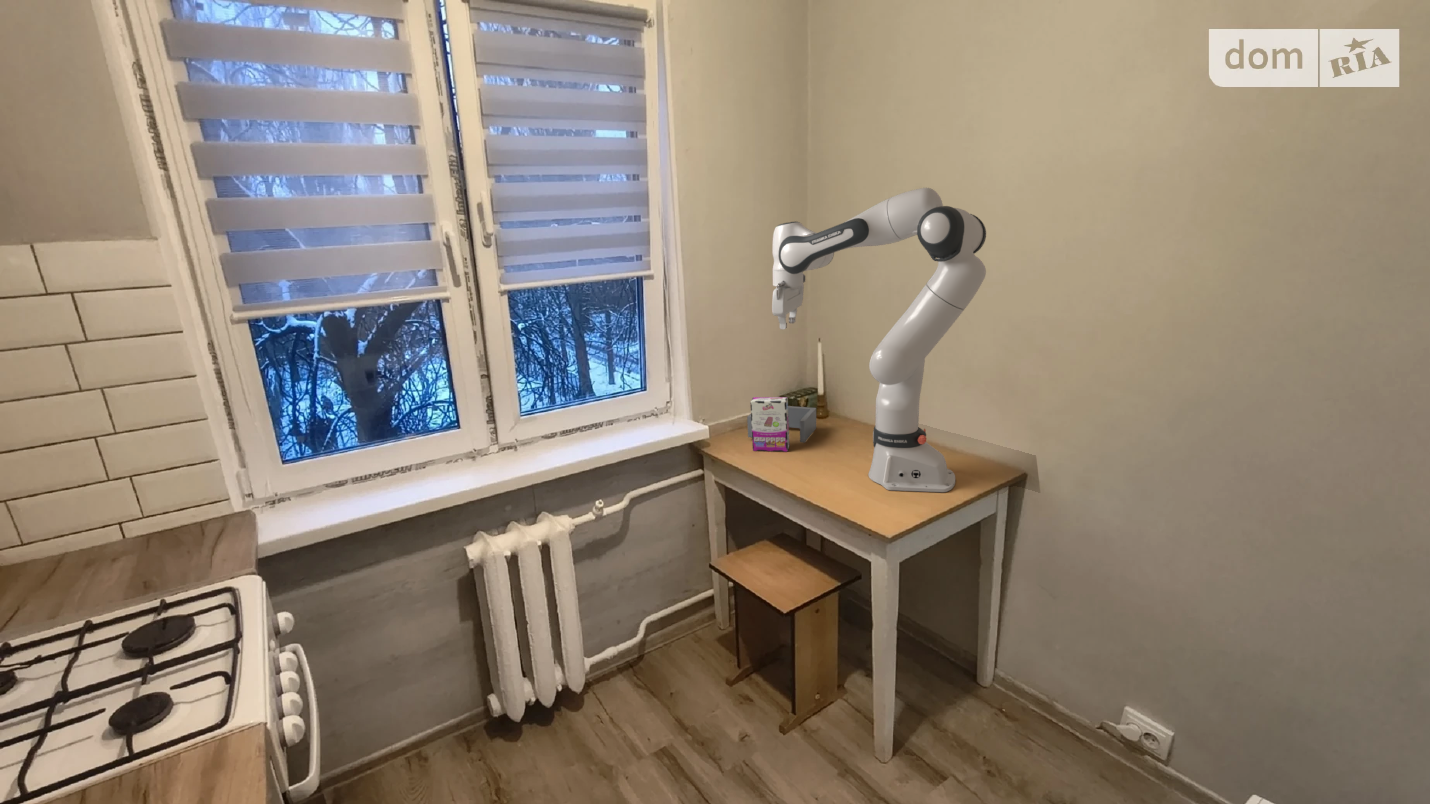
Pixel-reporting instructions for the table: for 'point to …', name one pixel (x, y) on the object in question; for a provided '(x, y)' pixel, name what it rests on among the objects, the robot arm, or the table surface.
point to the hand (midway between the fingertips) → (787, 325)
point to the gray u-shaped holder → (797, 421)
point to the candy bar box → (770, 424)
